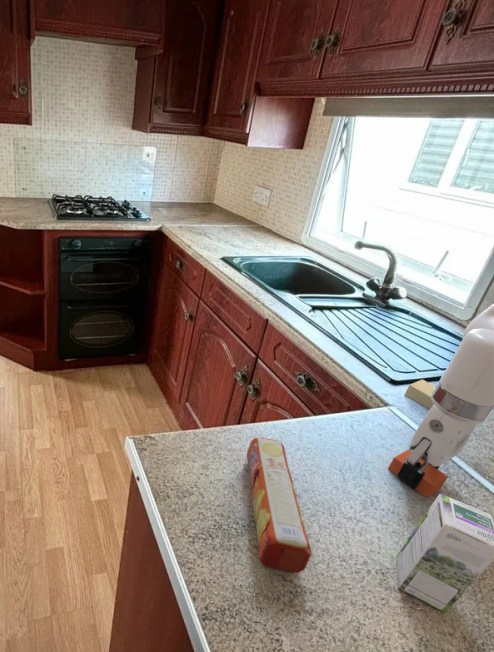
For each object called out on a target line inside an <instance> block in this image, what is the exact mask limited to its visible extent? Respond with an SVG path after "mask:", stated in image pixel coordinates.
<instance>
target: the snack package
mask: <svg viewBox="0 0 494 652" xmlns="http://www.w3.org/2000/svg"><path fill="white" fill-rule="evenodd" d="M246 451H247V452H246V460H247V464H248V469H249V476H250V486H251V496H252V505H253V512H254V520H255V527H256V534H257V545H258V559H259V561H260V563H261V564H262V565H263V566H264V567H266V568H268V569H270V570H271V569H272V570H276V571H280V572H285V573H290V574H298V573H301V572H303V571H304V570H305V569H307V566H308V563H309V561H310V559H311V557H312V547H311V544H310V541H309V538H308V535H307V531H306V528H305V523H304V519H303V516H302V512H301V509H300V505H299V501H298V497H297V493H296V489H295V485H294V481H293V478H292V475H291V471H290V467H289V464H288V461H287V454H286V449H285V446H284V444H283V443H282V442H281V441H280V440H278V439H273V438H268V437H260V436H259V437H255V438H252V440H251V441H250V443H249V446H248V449H247V450H246Z"/></svg>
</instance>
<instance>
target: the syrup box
mask: <svg viewBox="0 0 494 652" xmlns="http://www.w3.org/2000/svg"><path fill="white" fill-rule="evenodd" d="M396 559H397V560H396V563H397V581H398V582H397V583H398V589H399V590H400V591H402V592H403V593H406V594H408V595H410V596H412V597H414V598H416V599H417V600H419V601H421V602H423V603H425V604H427V605H428V606H431V607H433V608H435V609H437V610H438V611H440V612H441V613H444V614H446V613H447V612H448V611H449V610H450V609H451V608H452V607H453V606H454V605H455V603H456V602H457V601H458V600H459V599H460V598H461V596H463V594H464V593H465V592H466V591H467V590H468V589H469V588H470V586H472V584H473V583H474V582H475V581H476V580H477V578H478V577H479V576H481V574H482V573H483V572H484V571H485V570H486V568H488V566H489V565H490V564H491V563H492V562H493V561H494V519H493V517H492V515H491V514H490V513H487V512H485V511H483V510H481V509H478V508H475V507H473V506H471V505H469V504H466V503H463V501H459V500H456V499H454V498H451V497H450V496H447V495H445V494H443V493H439V494H438V495H437V497H436V498H435V499H434V501H433V502H432V504H431V505H430V506H429V508H428V510H427V511H426V513H425V514H424V516H422V518H421V520H420V521H419V523H418V524H417V526H416V527H415V528H414V530H413V531H412V533H411V535H410V536H409V537H408V539H407V541H406V542H405V543H404V544H403V546H402V547H401V549H400V550H399V552H398V553H397V554H396Z"/></svg>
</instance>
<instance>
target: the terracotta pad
mask: <svg viewBox="0 0 494 652" xmlns="http://www.w3.org/2000/svg"><path fill="white" fill-rule="evenodd" d="M412 451H413V450H409V448H408V449H407V450H405V451H403V452H401V453H399V454H398V455H396V456H394V457H393V459H392V460H391V462H390V464H389V466H388V468H387V469H388V470H389V471H391V472H392V473H393V474H395V476H397V475H398V473H399V471H400V469H401V468H402V466H403V464H404V462H405V461H406V459H407V457H408V456H409V455H410V454H411V452H412ZM419 462H420V463H421V465H422V464H423V463H424V462H425V460H423V459H422V458H420V460H419ZM424 473H425V475H424V477H423V478H422V480H421V481H420V483H419V485H418V486H417V488H415V489H414V490H416V491H417V492H419V493H420V494H421V495H422V496H423V497H425V498H429V497H430V496H432V495H433V494H434V493H436V492H437V491H439V490H440V489H441V488H442V487H443V485H444V484H445V482H446V481H447V479H448V478H449V476H448V475H447V474H445V473H444V472H442V471H441V470H439V468H438V469H436V468H435V467H433V466H432V465H431V464H429V465H428V467H427V468H426V469H425V471H424Z"/></svg>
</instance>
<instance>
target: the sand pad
mask: <svg viewBox="0 0 494 652" xmlns="http://www.w3.org/2000/svg"><path fill="white" fill-rule="evenodd" d="M435 388H436V385H434V384H431V383H430V382H428V381H426V380H424V379H420V380H418V381H414V382H413V383H411V384H409V385H408V386H407V389H406V391H405V392H404V396H406V397H408V398H410V399H411V400H413V401H414V402H416V403H418V404H420V405H421V406H423V407H425V408H426V409H428V410H430V409H431V407H432V406H433V405H434V403H433V402H432V400H431V395H432V393H433V391H434V389H435Z"/></svg>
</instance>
